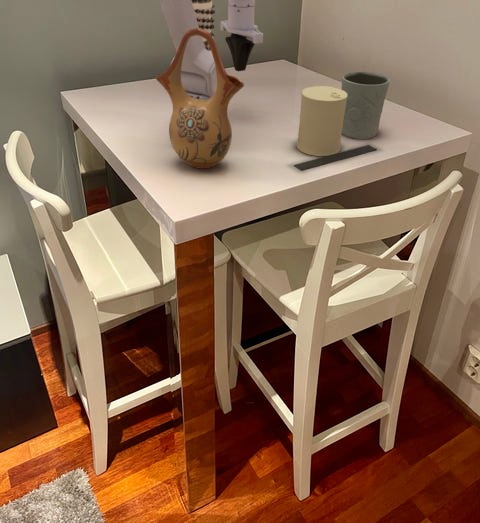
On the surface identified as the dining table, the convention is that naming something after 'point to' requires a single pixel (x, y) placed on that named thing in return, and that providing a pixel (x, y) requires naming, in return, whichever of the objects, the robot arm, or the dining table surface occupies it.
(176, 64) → the ceramic vessel
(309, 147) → the can
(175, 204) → the dining table surface
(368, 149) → the strip
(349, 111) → the embossed green cup
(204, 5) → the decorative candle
